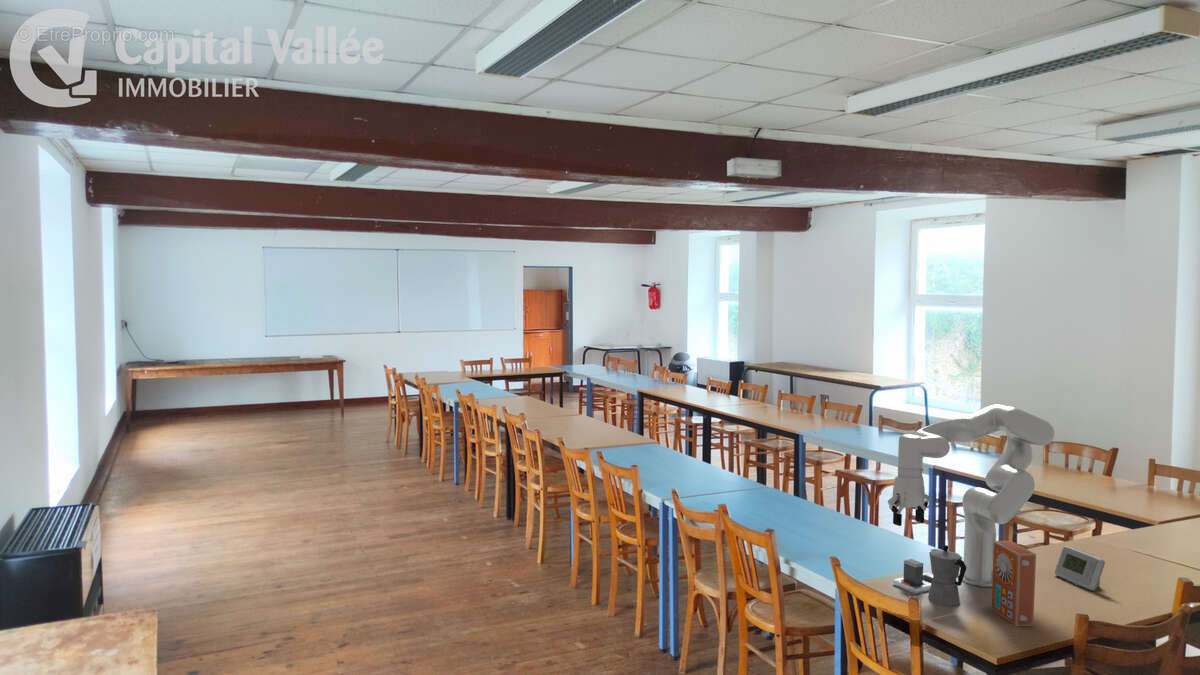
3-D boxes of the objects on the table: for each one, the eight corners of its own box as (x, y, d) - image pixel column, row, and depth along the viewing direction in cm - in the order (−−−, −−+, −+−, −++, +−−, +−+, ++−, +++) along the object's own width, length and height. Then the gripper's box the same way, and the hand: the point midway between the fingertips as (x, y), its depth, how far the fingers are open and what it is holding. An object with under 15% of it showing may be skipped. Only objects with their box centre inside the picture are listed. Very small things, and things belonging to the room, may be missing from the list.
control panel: (1016, 628, 221) (986, 607, 236) (1039, 627, 222) (1007, 607, 236) (1019, 555, 220) (988, 539, 235) (1042, 555, 221) (1010, 539, 235)
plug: (910, 583, 254) (911, 558, 254) (922, 589, 250) (923, 563, 250) (903, 585, 253) (903, 560, 252) (915, 590, 248) (915, 565, 248)
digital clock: (1051, 574, 266) (1052, 544, 266) (1077, 574, 266) (1078, 544, 266) (1082, 592, 250) (1083, 560, 249) (1109, 592, 250) (1110, 560, 250)
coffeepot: (917, 594, 246) (919, 539, 245) (942, 592, 248) (944, 537, 247) (950, 614, 231) (952, 555, 230) (976, 611, 233) (978, 553, 232)
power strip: (926, 578, 261) (927, 570, 261) (949, 587, 253) (949, 579, 253) (893, 585, 254) (893, 578, 253) (915, 594, 246) (915, 587, 245)
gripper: (920, 467, 259) (919, 517, 259) (881, 471, 252) (879, 523, 253) (938, 472, 252) (937, 523, 253) (898, 476, 245) (896, 529, 246)
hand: (908, 523), depth 253 cm, fingers open, 9 cm apart
